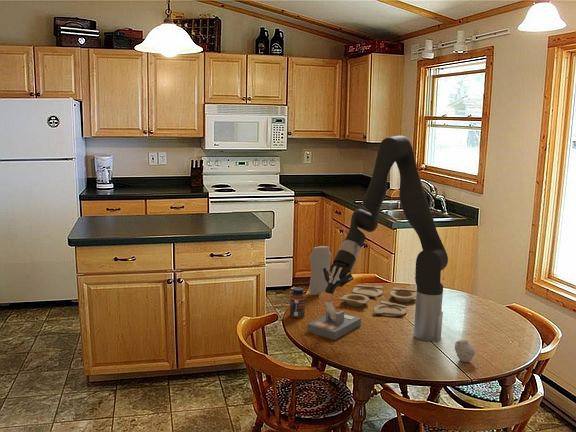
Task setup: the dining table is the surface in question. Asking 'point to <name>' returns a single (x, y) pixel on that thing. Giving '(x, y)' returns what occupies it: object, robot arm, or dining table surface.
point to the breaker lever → (328, 304)
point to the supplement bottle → (297, 303)
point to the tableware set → (386, 307)
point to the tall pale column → (319, 269)
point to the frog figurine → (464, 350)
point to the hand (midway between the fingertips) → (328, 293)
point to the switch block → (334, 325)
